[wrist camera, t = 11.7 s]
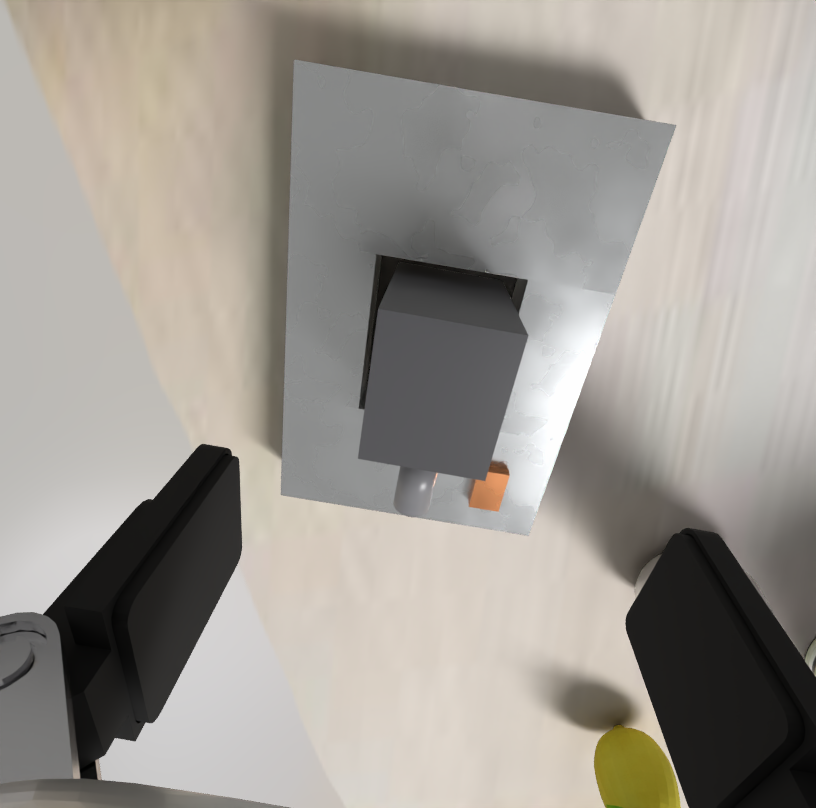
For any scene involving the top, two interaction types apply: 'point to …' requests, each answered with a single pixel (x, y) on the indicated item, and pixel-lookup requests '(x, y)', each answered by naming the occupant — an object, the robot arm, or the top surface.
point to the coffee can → (811, 657)
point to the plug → (439, 378)
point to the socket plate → (450, 264)
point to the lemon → (634, 771)
